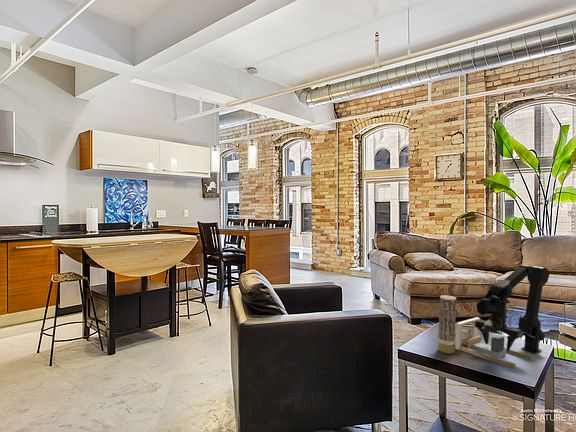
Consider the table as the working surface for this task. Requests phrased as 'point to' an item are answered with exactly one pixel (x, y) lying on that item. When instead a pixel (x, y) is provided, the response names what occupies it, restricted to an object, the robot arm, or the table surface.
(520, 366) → the table surface
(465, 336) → the game die
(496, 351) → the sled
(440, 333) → the bark log
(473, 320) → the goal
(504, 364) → the rails
